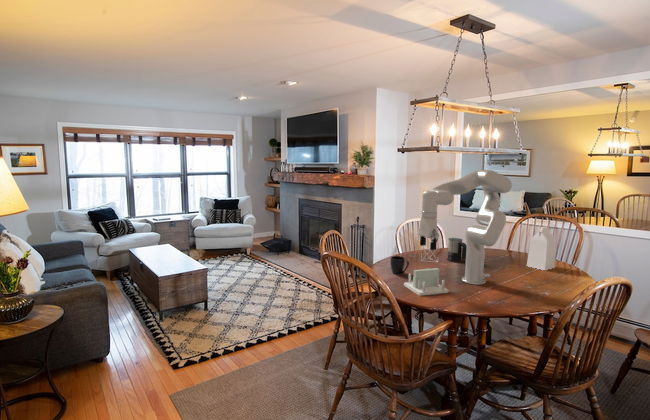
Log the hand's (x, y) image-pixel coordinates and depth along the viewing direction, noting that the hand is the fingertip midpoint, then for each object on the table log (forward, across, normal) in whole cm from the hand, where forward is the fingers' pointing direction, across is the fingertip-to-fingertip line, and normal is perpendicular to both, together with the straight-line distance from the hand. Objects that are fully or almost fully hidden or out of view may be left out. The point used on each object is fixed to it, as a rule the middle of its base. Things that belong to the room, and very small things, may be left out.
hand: (427, 247), depth 197 cm
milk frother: (+23, -44, +53) cm, 73 cm away
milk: (+23, -16, +94) cm, 98 cm away
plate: (+21, 0, 0) cm, 21 cm away
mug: (+22, -27, -1) cm, 35 cm away
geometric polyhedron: (+23, -49, +33) cm, 63 cm away
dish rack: (+22, 0, 0) cm, 22 cm away
